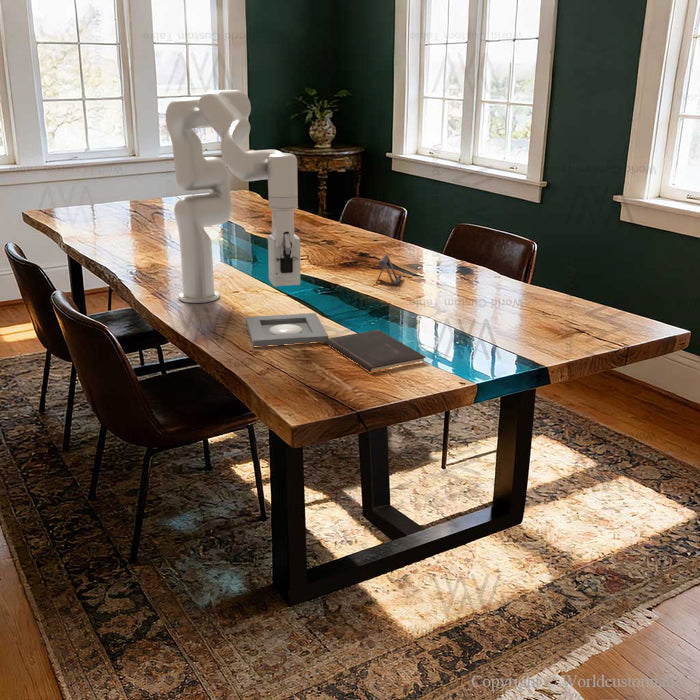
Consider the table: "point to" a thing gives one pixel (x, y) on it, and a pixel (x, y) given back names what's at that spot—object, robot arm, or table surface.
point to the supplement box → (274, 263)
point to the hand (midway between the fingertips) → (284, 268)
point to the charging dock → (285, 329)
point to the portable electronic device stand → (383, 264)
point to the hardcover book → (375, 350)
